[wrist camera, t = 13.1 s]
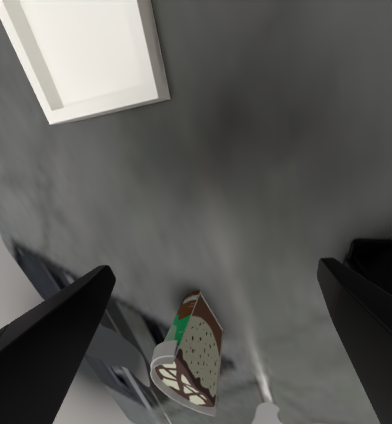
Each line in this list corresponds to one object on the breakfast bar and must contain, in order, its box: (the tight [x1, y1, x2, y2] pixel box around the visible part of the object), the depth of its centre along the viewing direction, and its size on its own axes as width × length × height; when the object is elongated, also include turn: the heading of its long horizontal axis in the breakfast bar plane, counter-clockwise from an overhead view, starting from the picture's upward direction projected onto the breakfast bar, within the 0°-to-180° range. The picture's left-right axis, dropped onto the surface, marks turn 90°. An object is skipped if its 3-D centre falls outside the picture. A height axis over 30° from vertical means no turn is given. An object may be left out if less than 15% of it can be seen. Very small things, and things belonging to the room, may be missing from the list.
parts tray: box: [0, 0, 170, 124], centre depth 15 cm, size 12×12×2 cm
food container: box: [150, 291, 224, 416], centre depth 27 cm, size 12×6×10 cm, turn 27°
